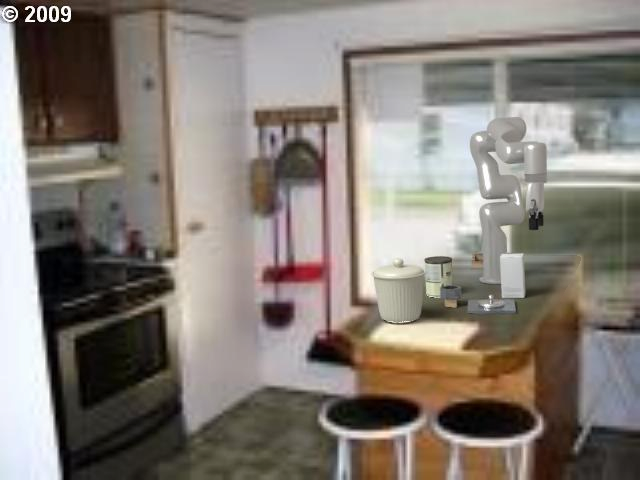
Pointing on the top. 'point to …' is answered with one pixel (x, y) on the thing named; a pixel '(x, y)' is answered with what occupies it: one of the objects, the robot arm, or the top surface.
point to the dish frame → (479, 263)
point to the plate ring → (450, 292)
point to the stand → (451, 303)
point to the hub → (491, 306)
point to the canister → (399, 291)
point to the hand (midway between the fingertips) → (536, 227)
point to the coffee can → (437, 274)
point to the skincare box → (512, 275)
